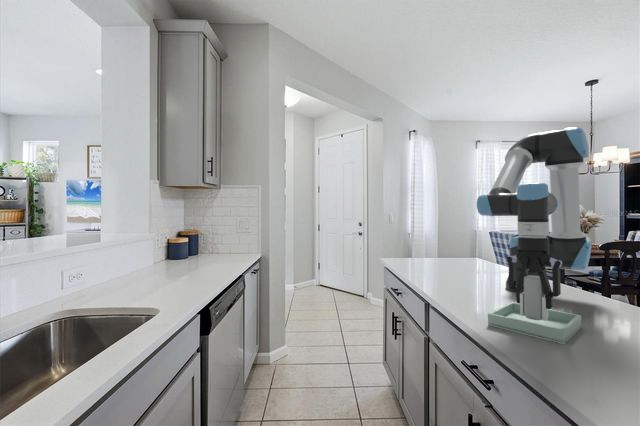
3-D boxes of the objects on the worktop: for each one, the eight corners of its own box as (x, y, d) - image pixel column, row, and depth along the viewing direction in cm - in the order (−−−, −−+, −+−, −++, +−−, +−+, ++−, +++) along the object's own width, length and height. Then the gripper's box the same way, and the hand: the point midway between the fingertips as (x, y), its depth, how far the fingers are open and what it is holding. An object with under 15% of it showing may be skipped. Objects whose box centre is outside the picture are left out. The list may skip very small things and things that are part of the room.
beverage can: (547, 321, 88) (547, 278, 88) (528, 320, 88) (527, 278, 89) (539, 315, 92) (538, 275, 92) (521, 314, 93) (520, 274, 93)
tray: (511, 312, 103) (511, 302, 103) (581, 327, 89) (581, 315, 89) (488, 325, 92) (487, 313, 92) (564, 344, 78) (563, 330, 78)
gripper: (494, 235, 95) (495, 312, 95) (567, 239, 81) (569, 328, 81) (504, 234, 100) (505, 307, 100) (575, 237, 86) (576, 322, 86)
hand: (534, 316), depth 90 cm, fingers closed on beverage can, 5 cm apart
